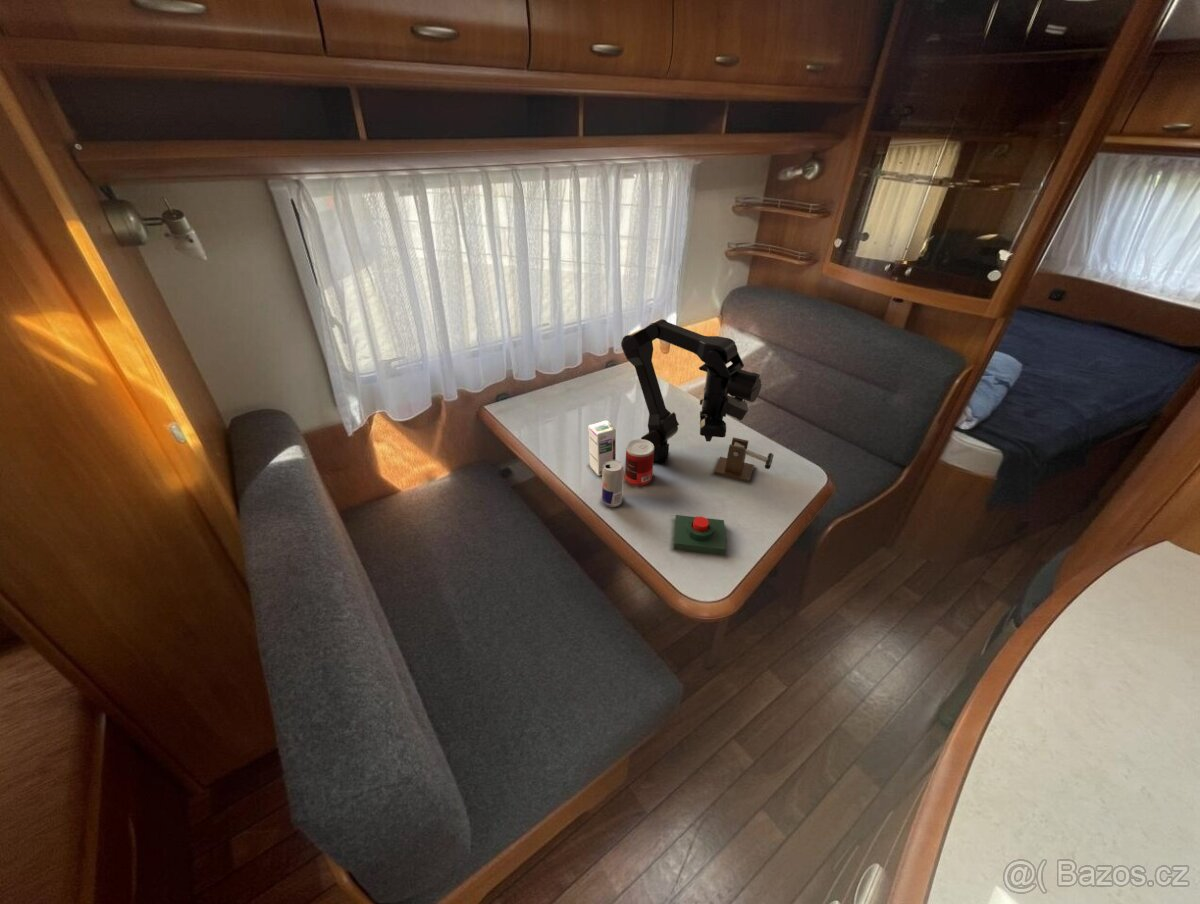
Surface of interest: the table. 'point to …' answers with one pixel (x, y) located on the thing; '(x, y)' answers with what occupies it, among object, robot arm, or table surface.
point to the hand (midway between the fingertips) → (708, 440)
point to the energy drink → (612, 483)
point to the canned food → (639, 462)
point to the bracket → (735, 463)
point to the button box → (699, 536)
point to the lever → (758, 456)
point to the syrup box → (601, 445)
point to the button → (700, 524)
